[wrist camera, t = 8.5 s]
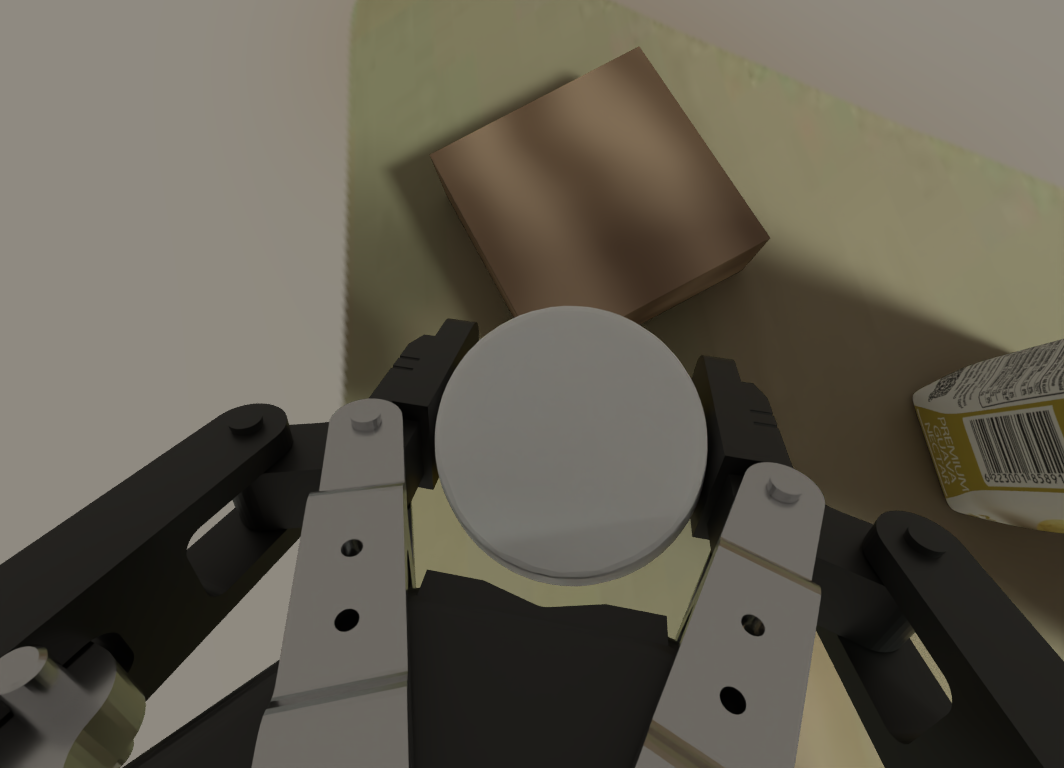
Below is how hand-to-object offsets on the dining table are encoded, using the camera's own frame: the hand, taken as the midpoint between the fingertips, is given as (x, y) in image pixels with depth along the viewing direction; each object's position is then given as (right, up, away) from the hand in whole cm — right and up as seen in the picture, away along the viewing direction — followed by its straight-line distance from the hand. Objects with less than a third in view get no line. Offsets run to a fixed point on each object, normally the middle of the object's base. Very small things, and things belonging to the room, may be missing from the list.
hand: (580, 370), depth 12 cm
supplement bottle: (0, -3, +5) cm, 5 cm away
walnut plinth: (+2, +9, +18) cm, 20 cm away
